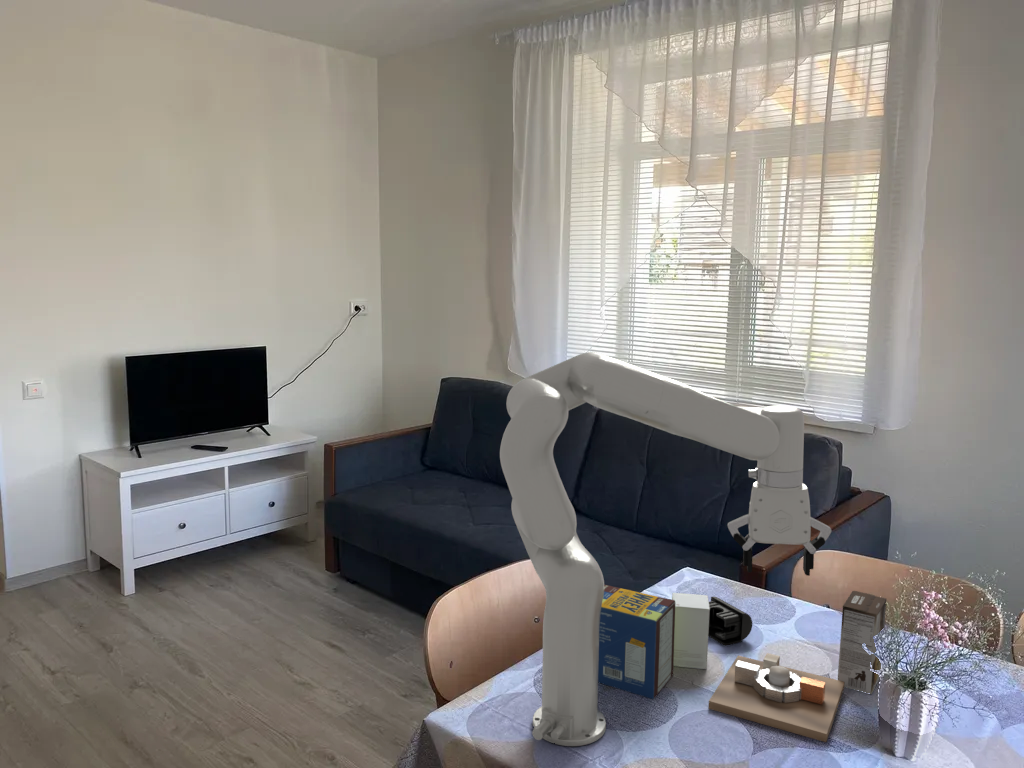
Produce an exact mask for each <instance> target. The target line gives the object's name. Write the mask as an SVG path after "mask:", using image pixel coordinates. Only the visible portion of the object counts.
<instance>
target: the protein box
mask: <svg viewBox="0 0 1024 768" xmlns="http://www.w3.org/2000/svg"><path fill="white" fill-rule="evenodd" d="M674 630H675V600H672V598H671V599H670V598H666V597H662V596H661V597H660V596H656V595H652V594H648V593H643V592H640V591H639V592H638V591H634V590H631V589H626V588H621V587H617V586H614V585H613V586H612V585H608V584H604V595H603V601H602V606H601V612H600V624H599V662H598V682H599V683H598V684H601V683H602V685H605V686H608V687H611V688H615V689H619V690H621V691H624V692H629V693H632V694H635V695H638V696H641V697H645V698H649V699H652V700H654V699H655V698H656V697H657V696H658V695H659V693H660V692H661V691H662V690H663V688H665V686H666V685H667V683H669V681H670V680H671V678H672V677H673V676H674V666H673V662H674Z"/></svg>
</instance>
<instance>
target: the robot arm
mask: <svg viewBox="0 0 1024 768" xmlns="http://www.w3.org/2000/svg"><path fill="white" fill-rule="evenodd" d="M585 403H587V404H589V405H592V406H594V407H595V408H598V409H601V410H603V411H605V412H609V413H612V414H615V415H618V416H621V417H624V418H628V419H631V420H634V421H636V422H639V423H641V424H644V425H646V426H647V425H648V426H649V427H653V428H655V429H658V430H661V431H664V432H666V433H669V434H671V435H674V436H675V435H676V436H678V437H683V438H686V439H690V440H693V441H694V442H695V441H696V442H699V443H701V444H704V445H707V446H709V447H712V448H715V449H718V450H720V451H723V452H727V453H729V454H732V455H735V456H738V457H741V458H744V459H747V460H749V461H757V465H756V467H755V469H748V478H752V479H755V480H756V481H755V482H753V484H752V487H751V493H750V500H749V506H748V507H749V508H748V513H747V514H744V515H742V516H740V517H738V518H736V519H733V520H731V521H729V522H727V528H728V531H729V532H730V535H731V536H732V537H733V540H734V541H735V542H736V543H737V544H738V545H739V547H741V548H742V549H743V550H742V551H743V555H742V557H743V558H742V564H743V566H744V567H746V569H747V573H752V572H753V546H754V544H756V543H759V544H771V545H772V544H774V545H775V544H776V545H792V546H793V545H794V546H795V545H796V546H797V545H798V546H799V545H802V546H804V549H803V557H802V558H803V559H802V560H803V561H802V570H803V573H804V575H805V576H808V577H809V576H810V575H811V570H814V569H815V567H814V565H815V564H814V561H815V554H816V553H817V551H818V550H819V549H820V548H821V547H823V546H824V545H825V544H826V541H827V540H828V539H829V536H830V535H831V533H832V531H833V530H832V528H831V527H830V526H829V525H827V524H825V523H823V522H822V521H819V520H818V519H815V518H814V517H812V516H811V504H810V503H811V502H810V495H809V494H810V493H809V488H808V487H807V485H806V484H805V483H804V481H803V480H804V445H805V444H804V441H805V439H804V438H805V414H804V413H803V411H802V410H801V409H800V408H799V407H795V406H791V405H769V406H764V407H751V406H749V407H748V406H738V405H735V404H731V403H728V402H726V401H724V400H721V399H719V398H716V397H714V396H712V395H709V394H706V393H704V392H703V391H702V392H701V391H700V390H699V389H698V390H697V389H696V388H693V387H692V386H689V385H687V384H685V383H682V382H680V381H678V380H676V379H672V378H670V377H666V376H663V375H661V374H658V373H655V372H652V371H650V370H647V369H645V368H642V367H638V366H637V365H633V364H632V363H631V364H630V363H628V362H625V361H623V360H620V359H617V358H613V357H610V356H608V355H604V354H602V353H599V352H593V351H589V352H584V353H583V352H582V353H581V354H578V355H576V356H573V357H570V358H568V359H565V360H564V361H561V362H559V363H557V364H554V365H553V366H550V367H548V368H546V369H543V370H540V371H538V372H536V373H533V374H531V375H529V376H527V377H525V378H522V379H521V380H520V381H517V383H516V384H514V385H513V386H512V387H511V388H510V391H509V392H508V394H507V397H506V410H507V414H508V415H509V417H510V421H508V423H507V425H506V428H505V430H504V432H503V434H502V439H501V442H500V448H499V460H500V466H501V469H502V473H503V475H504V478H505V481H506V483H507V488H508V490H509V492H510V495H511V496H510V497H511V498H512V499H511V505H510V507H511V508H510V509H511V514H512V518H513V520H514V523H515V525H516V528H517V531H518V532H519V535H520V537H521V540H522V543H523V546H524V548H525V549H526V552H527V555H528V557H529V559H530V562H531V564H532V567H533V568H534V571H535V572H536V574H537V576H538V577H539V579H540V581H541V584H542V585H543V587H544V589H545V608H544V611H543V622H542V669H541V671H542V673H541V674H542V676H541V677H542V678H541V681H542V682H541V690H542V691H541V706H539V708H537V709H536V711H534V713H533V715H532V727H533V726H534V728H533V730H532V736H533V738H534V739H535V740H537V741H541V740H542V739H543V740H544V741H547V742H549V743H551V744H554V743H555V745H557V746H558V745H559V746H563V747H580V746H585V745H590V744H592V743H595V742H597V741H598V740H599V739H601V738H602V737H603V735H604V734H605V732H606V729H607V728H606V727H607V719H606V717H605V715H604V714H603V713H602V712H601V710H599V709H598V698H599V697H598V695H599V694H598V693H599V690H598V689H599V683H598V662H599V624H600V612H601V606H602V601H603V595H604V585H605V580H604V575H603V572H602V570H601V569H602V568H600V565H599V563H598V561H596V558H595V557H594V556H593V555H592V553H590V551H588V549H587V548H585V546H584V545H583V544H582V542H581V540H580V538H579V535H578V533H577V524H578V523H577V515H576V511H575V508H574V506H573V504H572V502H571V500H570V499H569V496H568V493H567V491H566V489H565V487H564V484H563V481H562V479H561V477H560V473H559V471H558V468H557V465H556V462H555V458H554V446H555V444H556V442H557V440H558V437H559V436H560V435H561V433H562V432H563V430H564V429H565V427H566V425H567V422H568V419H569V411H571V410H572V409H575V408H577V407H579V406H582V405H584V404H585ZM745 525H747V526H748V534H746V536H745V537H744V536H743V535H742V534H741V533H740V532H739V528H741V527H743V526H745ZM811 527H812V528H813V529H815V530H818V531H820V532H819V534H818V535H817V536H815V538H813V539H812V540H811V534H812V531H811V530H812V528H811Z"/></svg>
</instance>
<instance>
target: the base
mask: <svg viewBox="0 0 1024 768" xmlns="http://www.w3.org/2000/svg"><path fill="white" fill-rule="evenodd" d="M780 659H781V656H780V655H777V654H773V653H769V652H766V654H765V656H764V658H763V661H762V660H758V659H754V658H749V657H747V656H746V657H745V656H742V655H737V657H736V658H735V659H734V661H733V663H732V664H731V666H730V667H729V669H728V671H727V672H725V673H726V674H725V676H724V677H723V678H722V679H721V681H720V682H719V684H718V686H717V688H716V689H715V691H714V692H713V694H712V696H710V699H709V700H708V709H709V710H712V711H715V712H719V713H722V714H726V715H730V716H733V717H736V718H739V719H743V720H748V721H750V722H753V723H754V722H755V723H757V724H761V725H764V726H767V727H771V728H774V729H775V728H776V729H778V730H782V731H785V732H788V733H791V734H796V735H798V736H801V737H807V738H809V739H813V740H817V741H819V742H823V743H827V741H828V739H829V736H830V733H831V729H832V726H833V723H834V720H835V718H836V714H837V712H838V709H839V706H840V703H841V700H842V697H843V694H844V690H845V687H844V684H845V682H843V681H839V680H838V679H834V678H830V677H826V676H823V675H818V674H815V673H811V672H807V671H803V670H798V669H794V668H790V667H787V666H783V665H780V662H781V661H780ZM738 661H742V662H746V663H750V664H754V665H758V666H760V670H762V669H769V684H770V685H774V686H777V687H781V688H784V687H789V680H790V672H792V674H793V673H795V674H796V675H797V676H798V677H800V678H802V677H806V678H810V679H814V680H818V681H822V682H825V697H824V701H823V704H822V705H821V704H818V703H814V702H810V701H806V700H803V699H801V700H799V701H795V702H788V703H784V702H783V701H782V703H781V702H777V701H773V700H770V699H766V698H765V697H762V696H761V695H760V694H759V693H758V692H757V691H756V690H754V687H753V686H750V685H746V684H742V683H738V682H735V681H734V679H735V665H736V663H737V662H738ZM839 702H840V703H839ZM838 705H839V706H838ZM837 708H838V709H837Z"/></svg>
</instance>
